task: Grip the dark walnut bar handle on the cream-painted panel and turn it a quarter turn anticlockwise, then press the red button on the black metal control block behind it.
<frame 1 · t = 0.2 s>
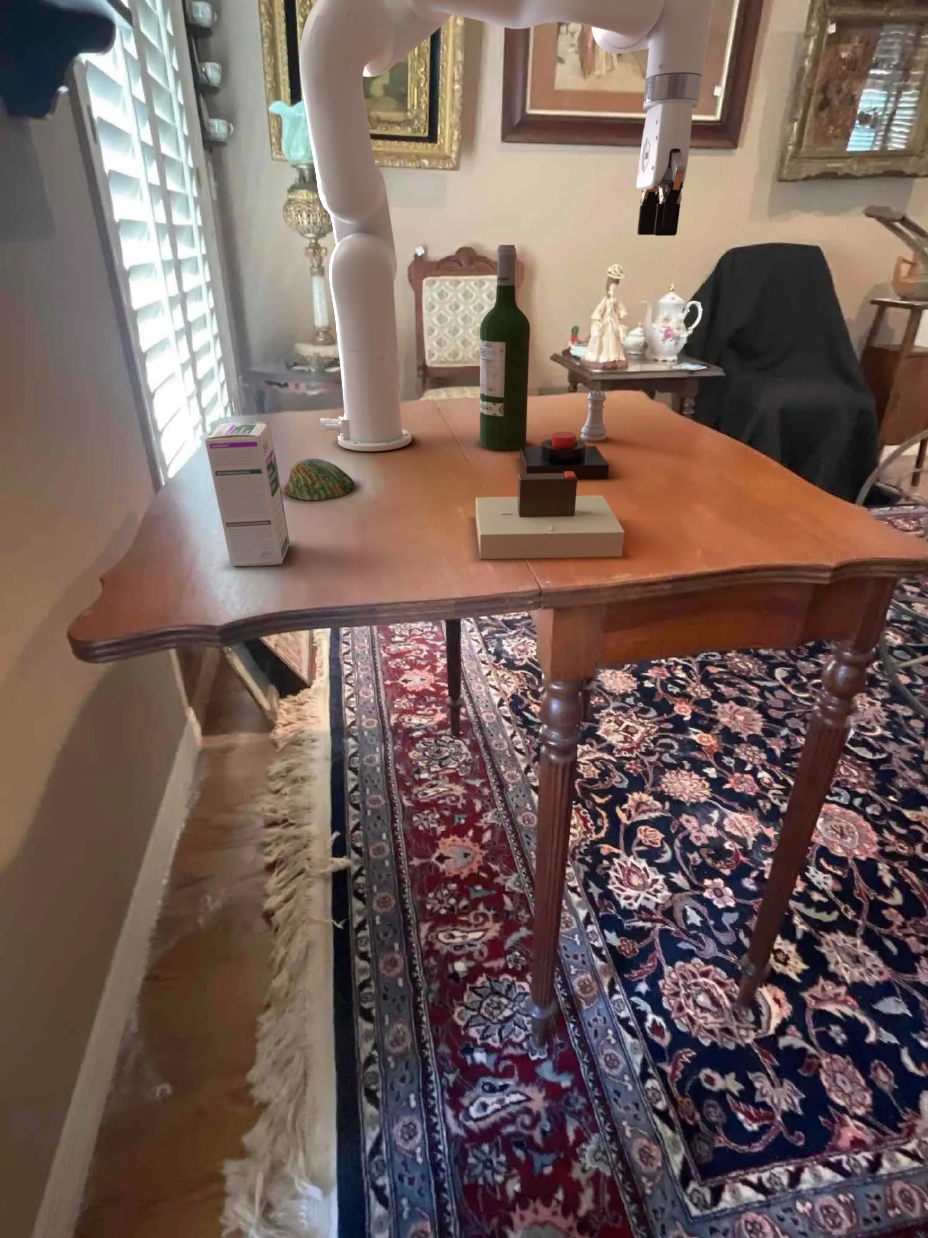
hand: (655, 235, 105), 31 cm above the table, tool pointing down, fingers open, 9 cm apart
handle: (546, 493, 80), point 5 cm above the table, hinge at 0.0°
button block: (561, 469, 105), on the table
syrup box: (260, 557, 79), on the table
panel: (544, 537, 83), on the table
button: (563, 440, 103), point 4 cm above the table, slide at 0.1 cm
wine bottle: (502, 446, 118), on the table
rook chess piece: (592, 440, 120), on the table
seashell: (318, 489, 99), on the table
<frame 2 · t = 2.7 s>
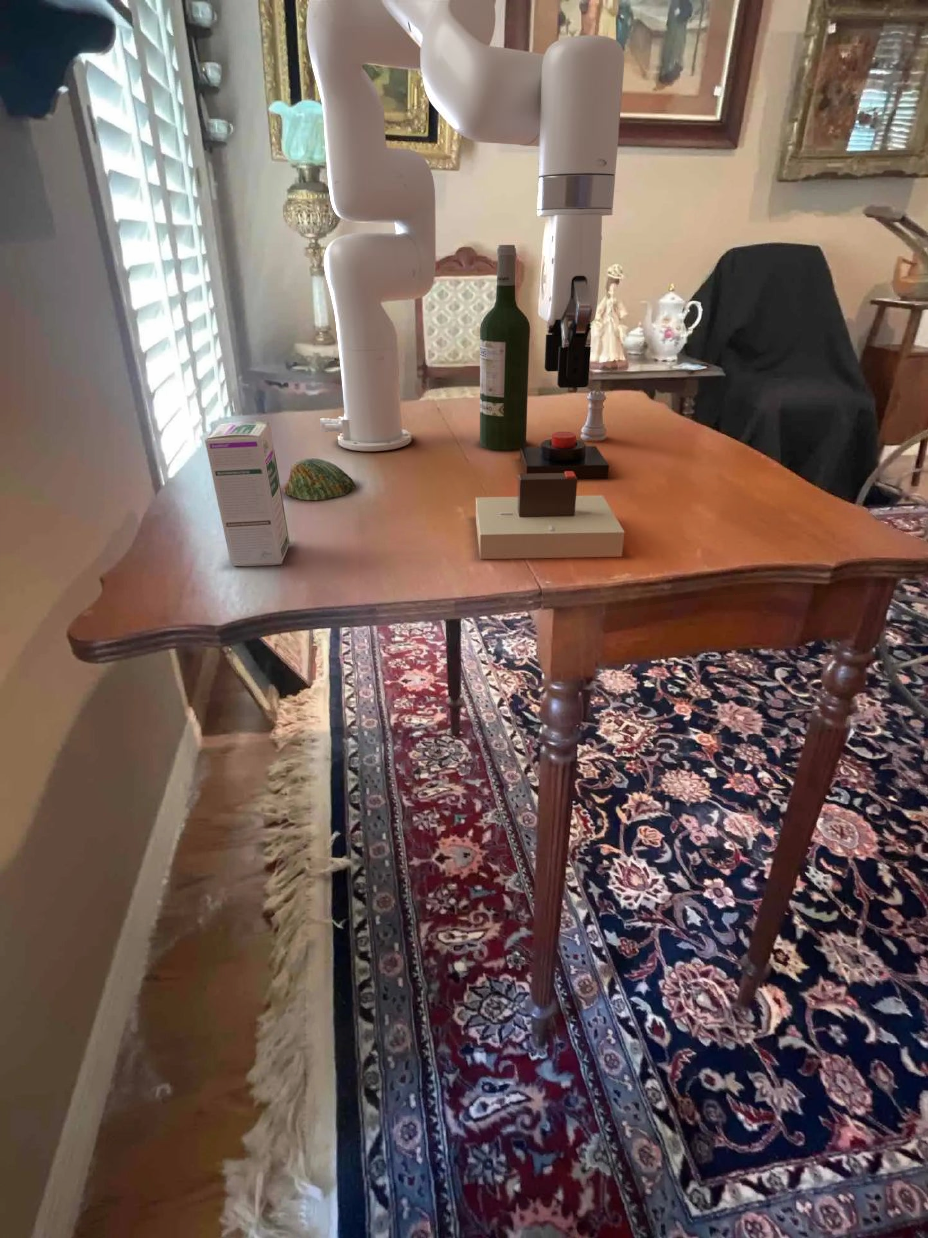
hand: (564, 378, 77), 18 cm above the table, tool pointing down, fingers open, 9 cm apart
nothing on the table moved.
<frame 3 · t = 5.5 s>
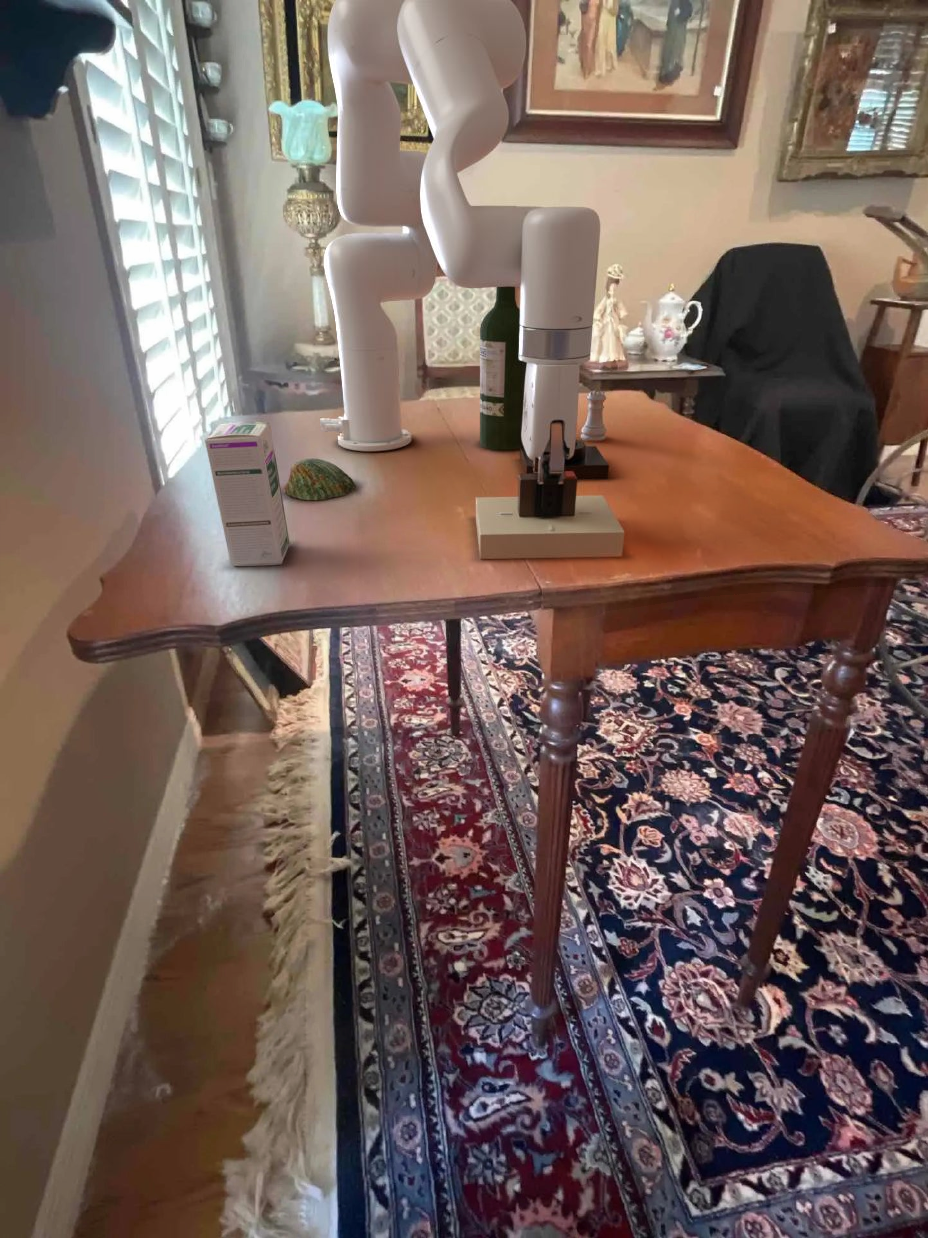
hand: (545, 509, 81), 3 cm above the table, tool pointing down, fingers closed on handle, 2 cm apart
handle: (546, 493, 80), point 5 cm above the table, hinge at 0.0°, touching gripper
everything else where it was.
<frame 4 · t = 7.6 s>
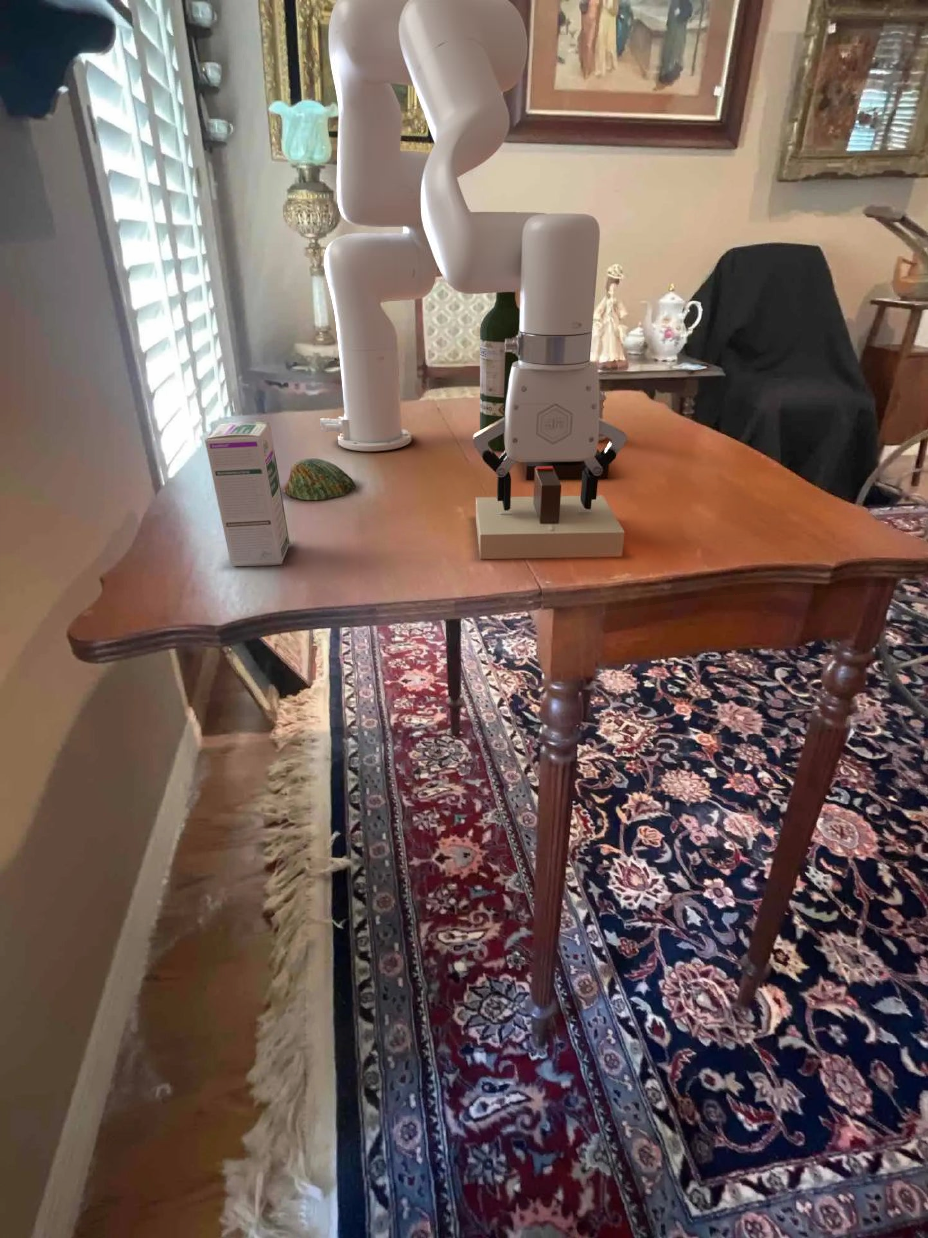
hand: (545, 505, 81), 4 cm above the table, tool pointing down, fingers open, 9 cm apart
handle: (546, 493, 80), point 5 cm above the table, hinge at 90.2°
everything else where it was.
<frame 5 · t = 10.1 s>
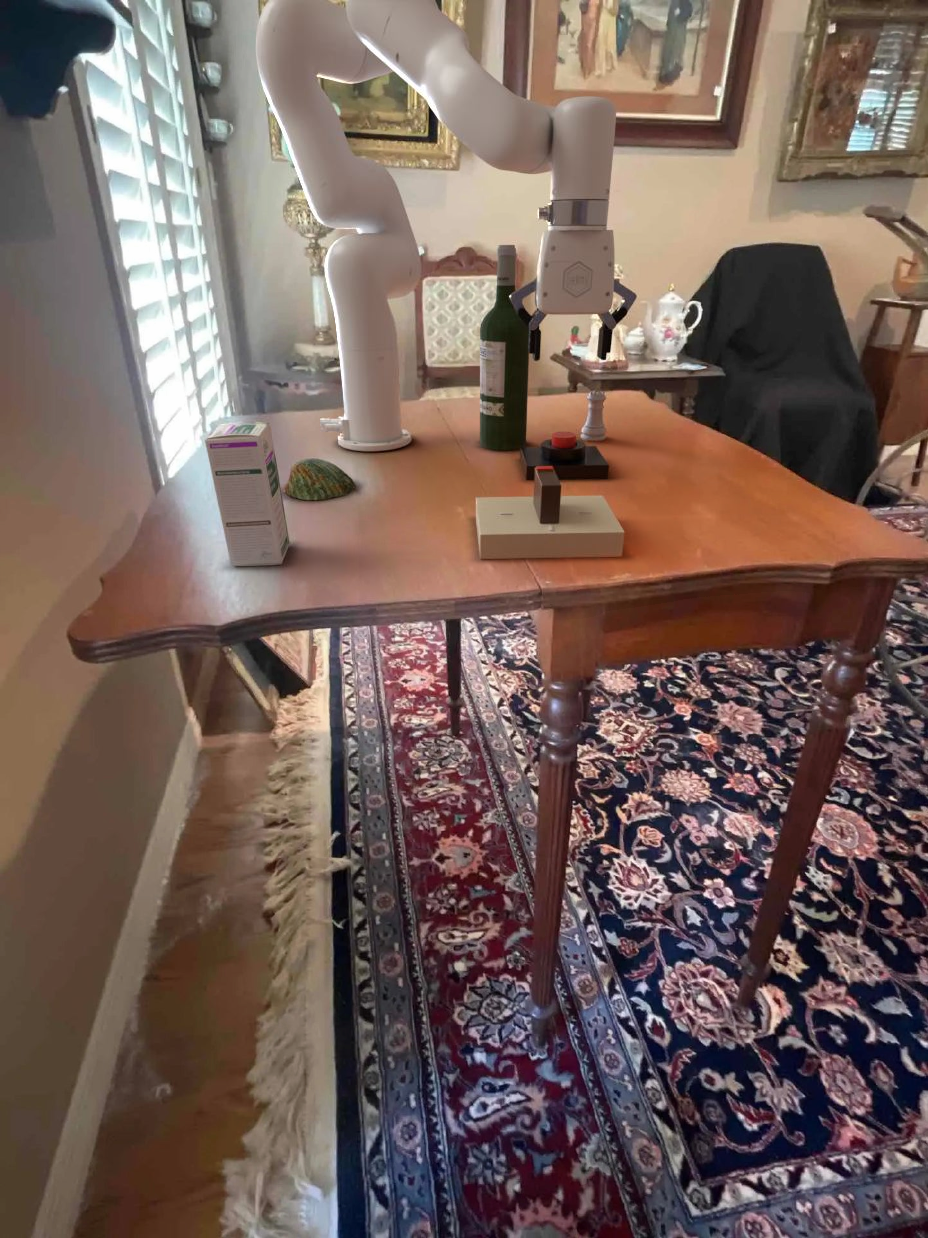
hand: (568, 358, 97), 16 cm above the table, tool pointing down, fingers open, 8 cm apart
nothing on the table moved.
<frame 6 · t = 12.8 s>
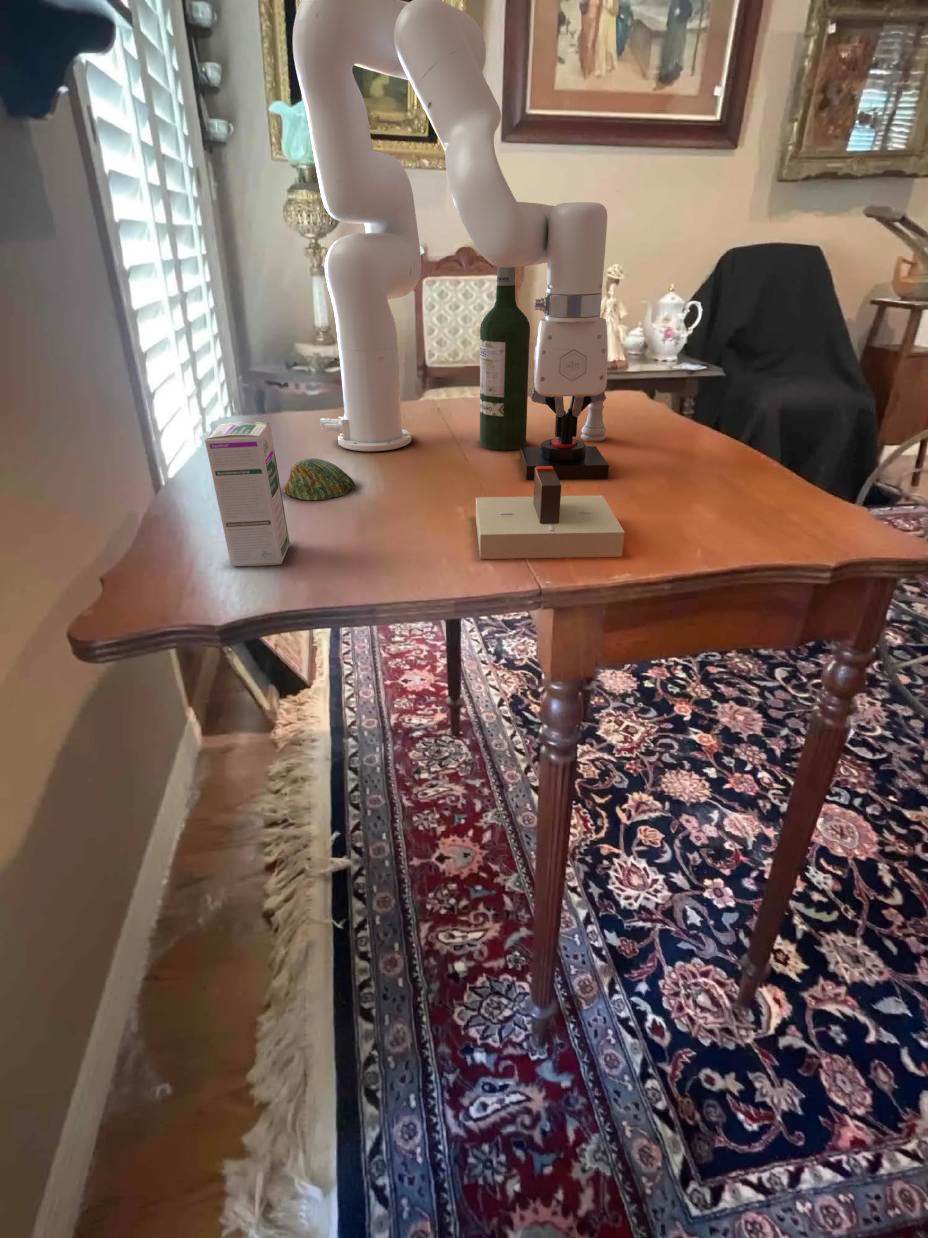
hand: (565, 441, 103), 4 cm above the table, tool pointing down, fingers closed
button: (563, 447, 104), point 3 cm above the table, slide at -0.9 cm, touching gripper
everything else where it was.
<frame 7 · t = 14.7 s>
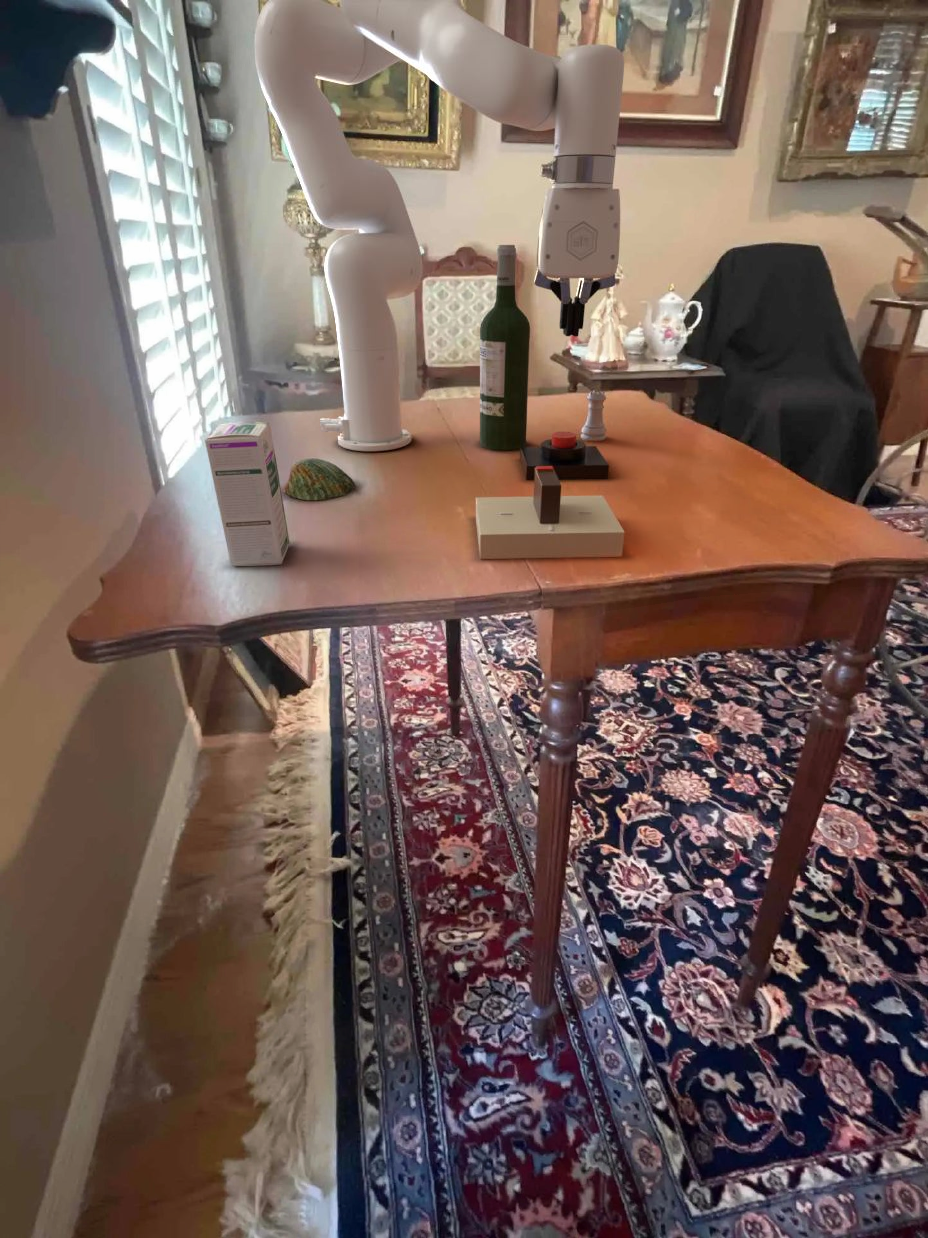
hand: (570, 334, 94), 20 cm above the table, tool pointing down, fingers closed
button: (563, 440, 103), point 4 cm above the table, slide at 0.1 cm
everything else where it was.
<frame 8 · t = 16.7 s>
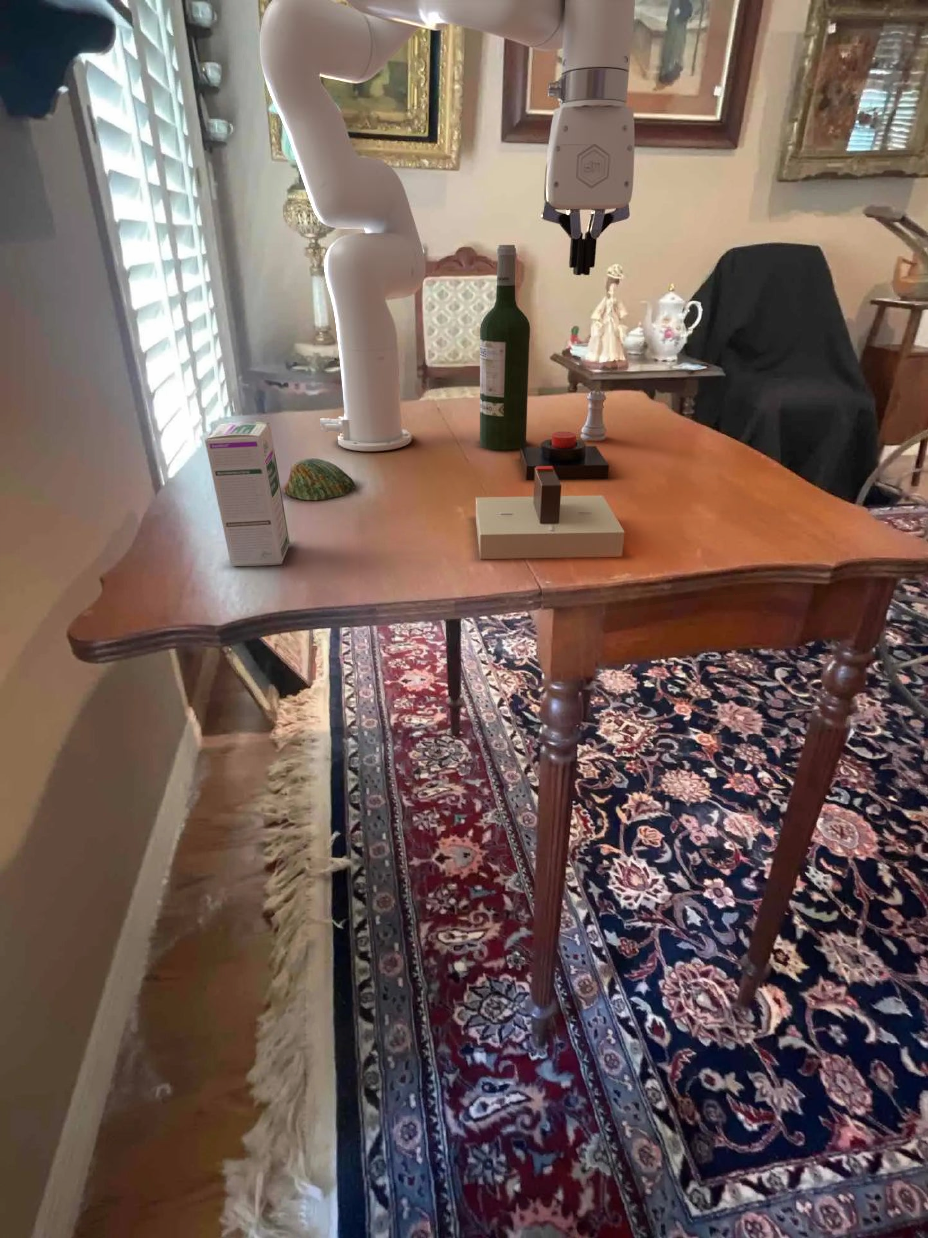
hand: (581, 274, 88), 27 cm above the table, tool pointing down, fingers closed
nothing on the table moved.
at the end: handle at +90° (first picture: +0°); button pushed in 1.1 cm at the most during the clip, back to where it started at the end; button slide at 0.1 cm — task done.
